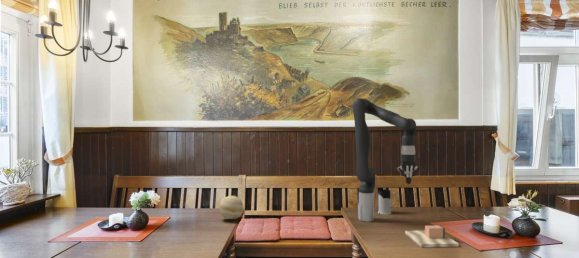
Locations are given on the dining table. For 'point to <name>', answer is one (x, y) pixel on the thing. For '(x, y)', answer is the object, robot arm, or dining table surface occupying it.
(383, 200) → the glass holder
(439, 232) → the block
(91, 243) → the dining table surface
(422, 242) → the board
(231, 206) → the decorative ball
